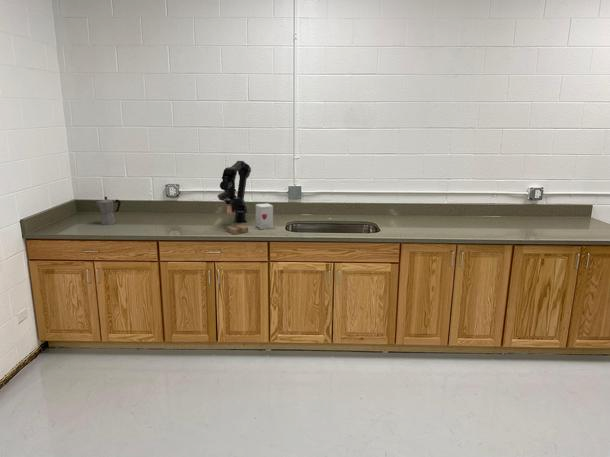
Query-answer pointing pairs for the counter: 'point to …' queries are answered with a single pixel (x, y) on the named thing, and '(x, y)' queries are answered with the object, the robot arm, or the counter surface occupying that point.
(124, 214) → the counter surface
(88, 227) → the counter surface
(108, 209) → the coffeepot
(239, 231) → the tan flat block
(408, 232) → the counter surface
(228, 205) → the terracotta cylinder
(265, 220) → the supplement box
